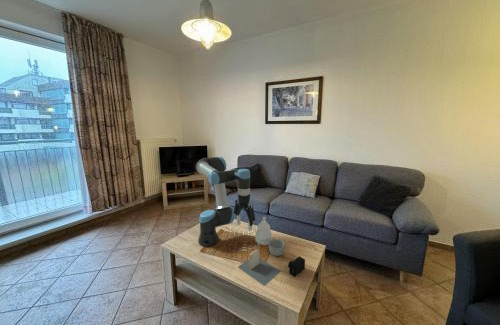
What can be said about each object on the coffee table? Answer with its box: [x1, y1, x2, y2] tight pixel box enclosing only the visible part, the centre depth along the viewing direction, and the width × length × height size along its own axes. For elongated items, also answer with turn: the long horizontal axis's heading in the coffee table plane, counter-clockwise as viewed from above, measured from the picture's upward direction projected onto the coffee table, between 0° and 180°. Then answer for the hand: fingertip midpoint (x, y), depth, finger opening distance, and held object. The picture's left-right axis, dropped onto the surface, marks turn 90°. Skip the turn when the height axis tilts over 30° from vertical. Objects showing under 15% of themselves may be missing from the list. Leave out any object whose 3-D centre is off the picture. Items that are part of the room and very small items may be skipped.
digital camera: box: [287, 256, 306, 278], centre depth 127 cm, size 10×5×7 cm, turn 134°
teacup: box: [268, 237, 285, 257], centre depth 145 cm, size 14×11×8 cm
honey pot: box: [254, 216, 273, 246], centre depth 159 cm, size 13×13×18 cm
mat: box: [237, 258, 282, 286], centre depth 128 cm, size 22×16×1 cm
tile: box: [248, 248, 261, 270], centre depth 130 cm, size 2×8×10 cm, turn 136°
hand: (244, 227), depth 133 cm, fingers open, 10 cm apart
